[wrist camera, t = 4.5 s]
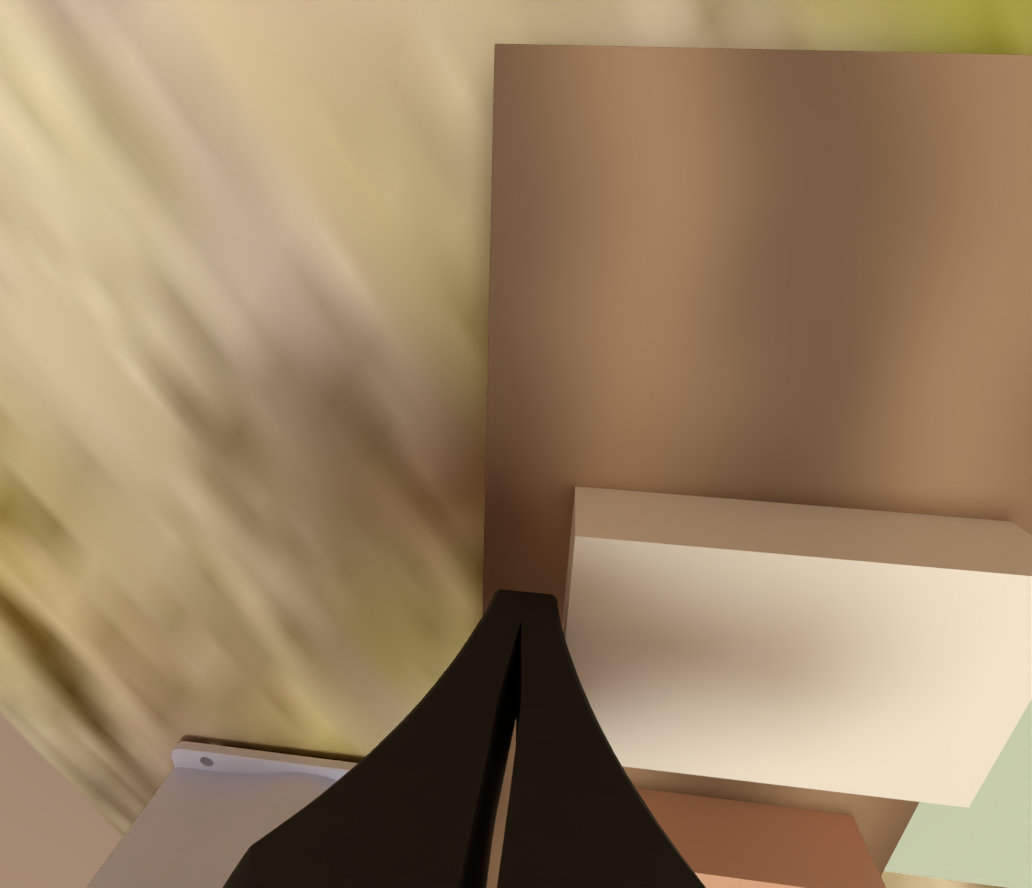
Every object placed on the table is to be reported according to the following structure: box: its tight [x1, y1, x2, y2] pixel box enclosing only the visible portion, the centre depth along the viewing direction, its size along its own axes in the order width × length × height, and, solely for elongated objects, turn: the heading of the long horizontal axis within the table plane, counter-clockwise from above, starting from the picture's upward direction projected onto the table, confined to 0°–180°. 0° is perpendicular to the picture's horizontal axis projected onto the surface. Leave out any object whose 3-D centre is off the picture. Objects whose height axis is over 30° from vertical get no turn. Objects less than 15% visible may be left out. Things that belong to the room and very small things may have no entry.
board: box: [483, 44, 1032, 888], centre depth 14 cm, size 12×24×3 cm, turn 178°
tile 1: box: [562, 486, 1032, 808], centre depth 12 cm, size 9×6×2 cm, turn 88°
